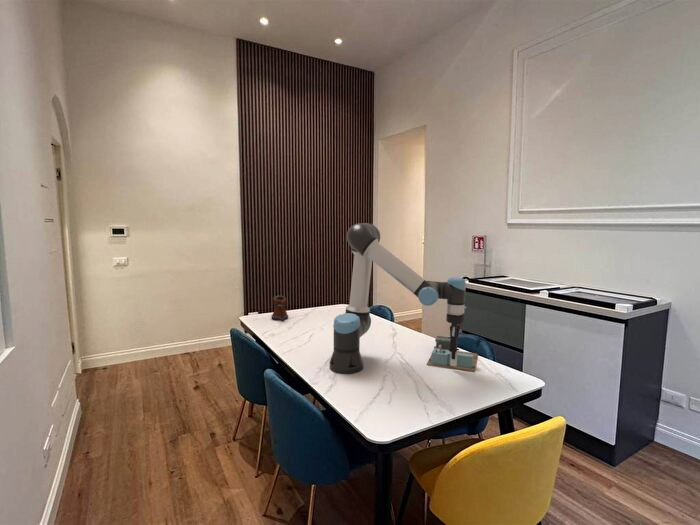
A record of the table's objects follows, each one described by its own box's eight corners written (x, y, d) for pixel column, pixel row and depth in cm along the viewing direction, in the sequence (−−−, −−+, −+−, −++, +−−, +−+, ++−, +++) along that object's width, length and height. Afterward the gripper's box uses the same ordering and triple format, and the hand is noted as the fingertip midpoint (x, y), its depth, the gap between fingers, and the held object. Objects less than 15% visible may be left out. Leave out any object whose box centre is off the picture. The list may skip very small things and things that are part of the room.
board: (474, 372, 168) (474, 370, 168) (426, 365, 175) (426, 363, 175) (477, 354, 190) (477, 353, 190) (434, 349, 198) (435, 348, 198)
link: (431, 363, 176) (431, 352, 176) (433, 358, 183) (434, 348, 182) (472, 369, 170) (472, 358, 169) (473, 363, 176) (473, 353, 176)
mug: (293, 322, 247) (292, 299, 245) (275, 323, 242) (275, 300, 241) (286, 315, 263) (286, 294, 262) (269, 317, 259) (269, 295, 257)
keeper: (450, 356, 186) (451, 342, 185) (433, 353, 189) (434, 340, 188) (452, 350, 194) (453, 337, 193) (436, 348, 197) (436, 335, 196)
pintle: (441, 364, 177) (442, 346, 176) (436, 363, 178) (436, 345, 177) (442, 362, 179) (442, 344, 178) (437, 361, 180) (437, 344, 179)
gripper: (462, 317, 159) (460, 371, 162) (465, 310, 171) (463, 361, 174) (444, 315, 162) (442, 369, 164) (448, 309, 174) (446, 359, 176)
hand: (453, 365), depth 169 cm, fingers closed
